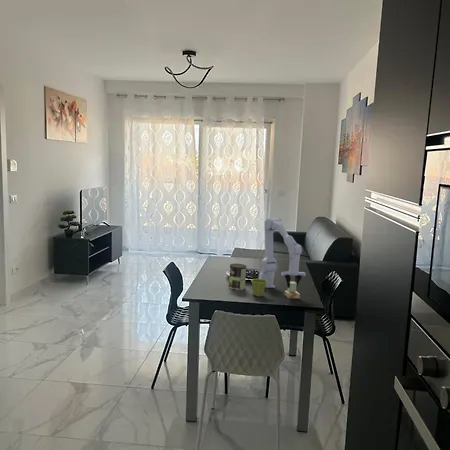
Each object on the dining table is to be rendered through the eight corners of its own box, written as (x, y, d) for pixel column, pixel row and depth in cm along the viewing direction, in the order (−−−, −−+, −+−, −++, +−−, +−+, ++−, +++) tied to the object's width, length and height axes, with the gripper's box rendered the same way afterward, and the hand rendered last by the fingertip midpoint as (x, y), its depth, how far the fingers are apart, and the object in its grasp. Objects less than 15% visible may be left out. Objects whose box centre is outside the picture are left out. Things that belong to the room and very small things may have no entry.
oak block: (288, 298, 252) (288, 294, 252) (284, 295, 259) (284, 290, 259) (299, 298, 254) (299, 294, 253) (295, 295, 261) (295, 290, 260)
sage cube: (289, 291, 254) (290, 283, 253) (287, 289, 258) (288, 281, 257) (295, 291, 255) (296, 283, 254) (293, 289, 259) (294, 281, 258)
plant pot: (249, 292, 259) (250, 278, 258) (264, 292, 260) (265, 279, 259) (251, 297, 250) (252, 282, 249) (267, 297, 251) (268, 283, 250)
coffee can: (232, 290, 261) (233, 267, 259) (226, 285, 271) (227, 263, 269) (247, 289, 265) (249, 267, 263) (241, 284, 275) (242, 263, 273)
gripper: (284, 266, 249) (282, 289, 251) (308, 267, 251) (306, 289, 253) (280, 263, 256) (278, 285, 258) (303, 264, 258) (301, 286, 260)
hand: (292, 287), depth 256 cm, fingers closed on sage cube, 4 cm apart
